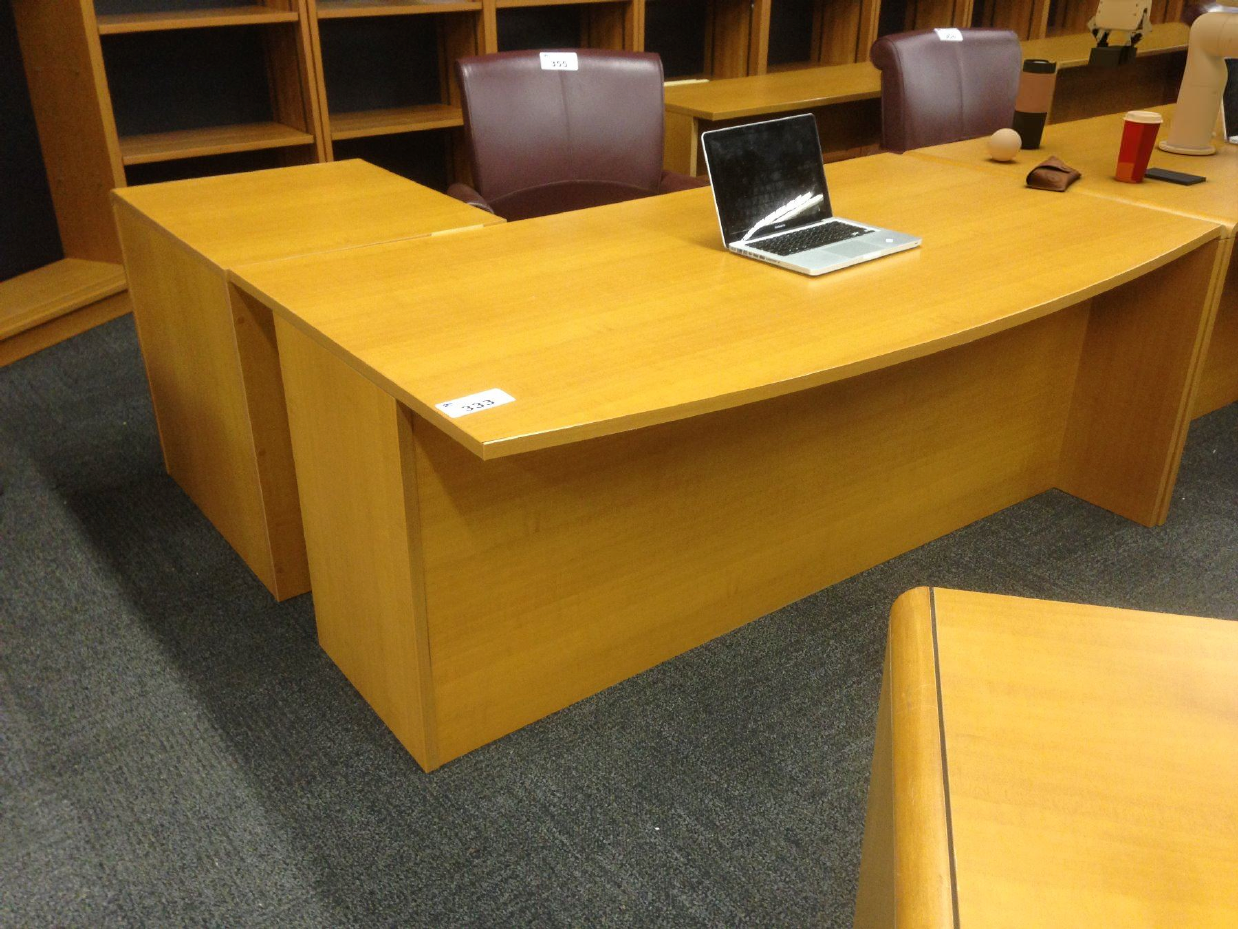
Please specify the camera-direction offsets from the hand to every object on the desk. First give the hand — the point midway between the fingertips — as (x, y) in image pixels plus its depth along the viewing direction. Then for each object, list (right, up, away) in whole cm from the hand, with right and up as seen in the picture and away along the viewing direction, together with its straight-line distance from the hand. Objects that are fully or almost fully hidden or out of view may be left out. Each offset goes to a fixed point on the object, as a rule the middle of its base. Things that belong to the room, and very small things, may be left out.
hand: (1111, 62), depth 231 cm
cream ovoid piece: (-19, -17, +15) cm, 30 cm away
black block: (0, 0, 0) cm, 0 cm away
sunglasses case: (-15, -28, -4) cm, 32 cm away
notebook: (+13, -25, +1) cm, 28 cm away
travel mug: (-8, -10, +30) cm, 33 cm away
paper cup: (+3, -26, -1) cm, 27 cm away
